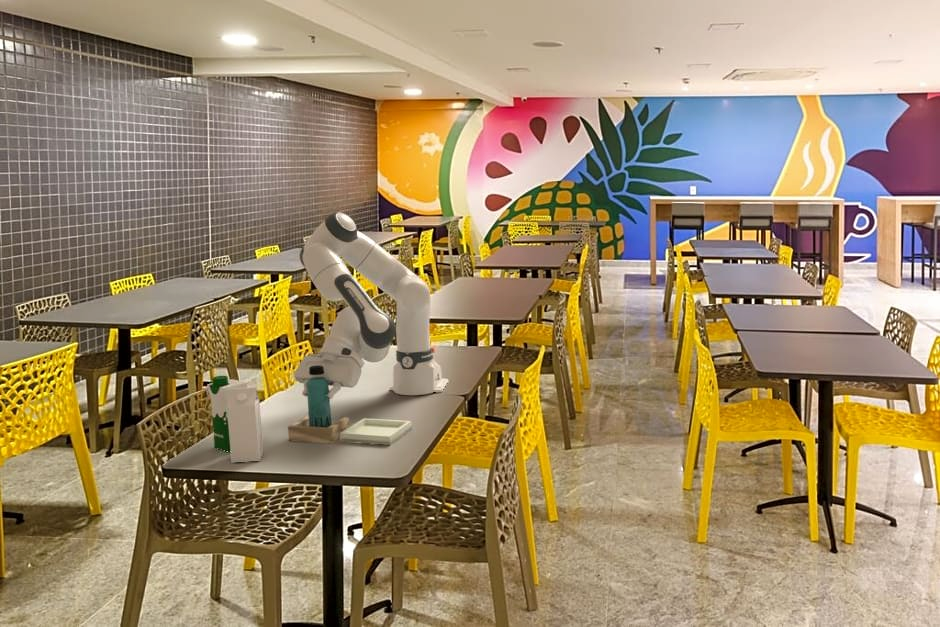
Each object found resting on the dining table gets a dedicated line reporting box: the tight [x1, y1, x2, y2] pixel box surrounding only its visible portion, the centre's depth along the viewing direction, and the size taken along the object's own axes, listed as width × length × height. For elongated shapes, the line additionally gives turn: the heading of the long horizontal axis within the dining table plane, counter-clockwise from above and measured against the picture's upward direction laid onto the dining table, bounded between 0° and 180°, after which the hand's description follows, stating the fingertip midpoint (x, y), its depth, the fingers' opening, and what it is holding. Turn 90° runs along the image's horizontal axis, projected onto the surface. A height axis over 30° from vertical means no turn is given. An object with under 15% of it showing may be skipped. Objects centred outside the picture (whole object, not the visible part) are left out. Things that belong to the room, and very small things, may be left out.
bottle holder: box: [287, 415, 350, 444], centre depth 246 cm, size 12×13×4 cm
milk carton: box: [227, 386, 264, 463], centre depth 228 cm, size 7×7×19 cm
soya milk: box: [206, 375, 248, 453], centre depth 238 cm, size 9×9×20 cm
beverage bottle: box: [306, 365, 333, 428], centre depth 246 cm, size 6×7×20 cm
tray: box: [339, 417, 413, 446], centre depth 245 cm, size 15×15×2 cm
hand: (316, 396), depth 245 cm, fingers closed on beverage bottle, 6 cm apart
